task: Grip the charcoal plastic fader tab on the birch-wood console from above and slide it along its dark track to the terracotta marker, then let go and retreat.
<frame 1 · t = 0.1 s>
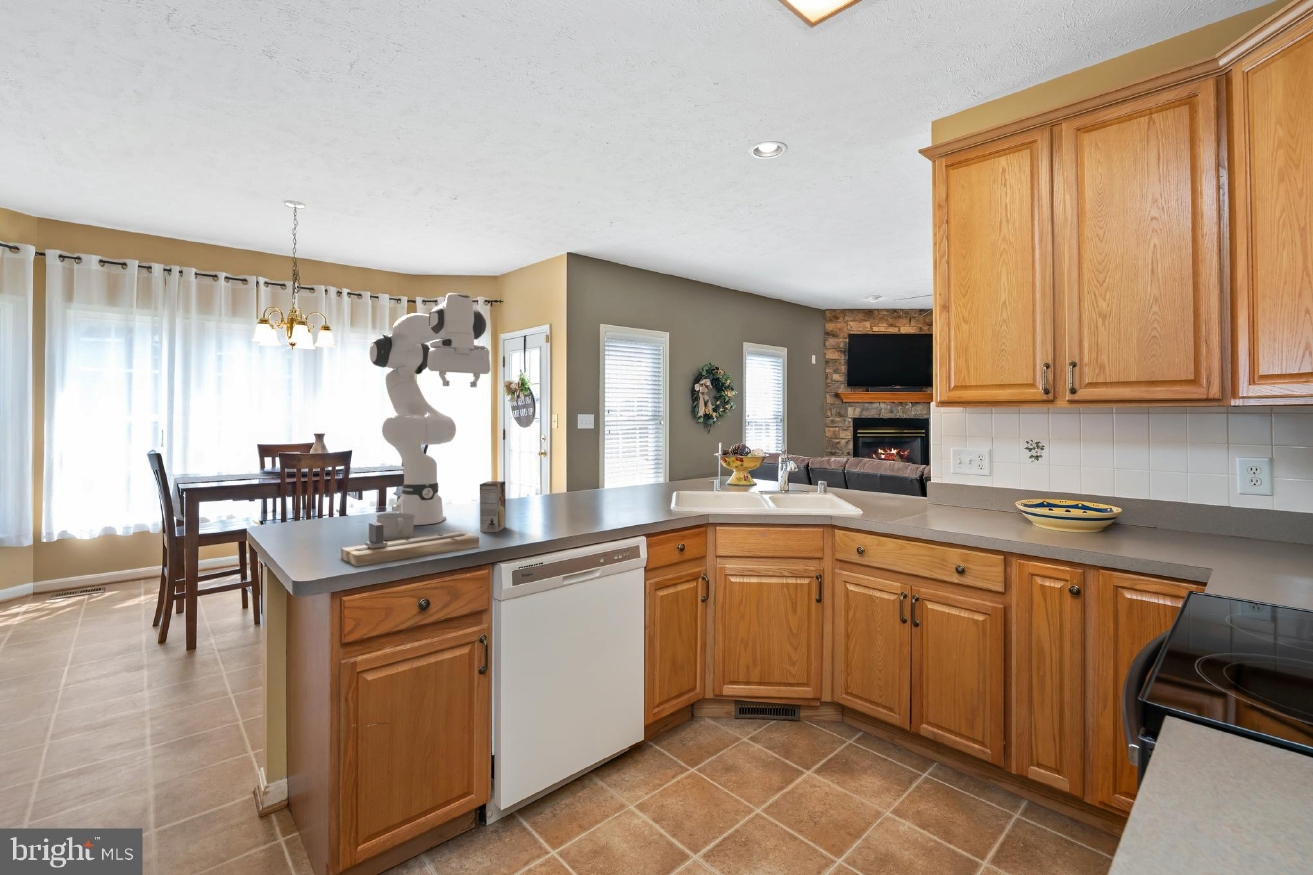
hand: (460, 386, 195), 48 cm above the countertop, tool pointing down, fingers open, 8 cm apart
fader tab: (376, 534, 163), point 6 cm above the countertop, slide at -10.0 cm
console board: (413, 552, 170), on the countertop
coffee box: (493, 530, 205), on the countertop
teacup: (396, 541, 186), on the countertop
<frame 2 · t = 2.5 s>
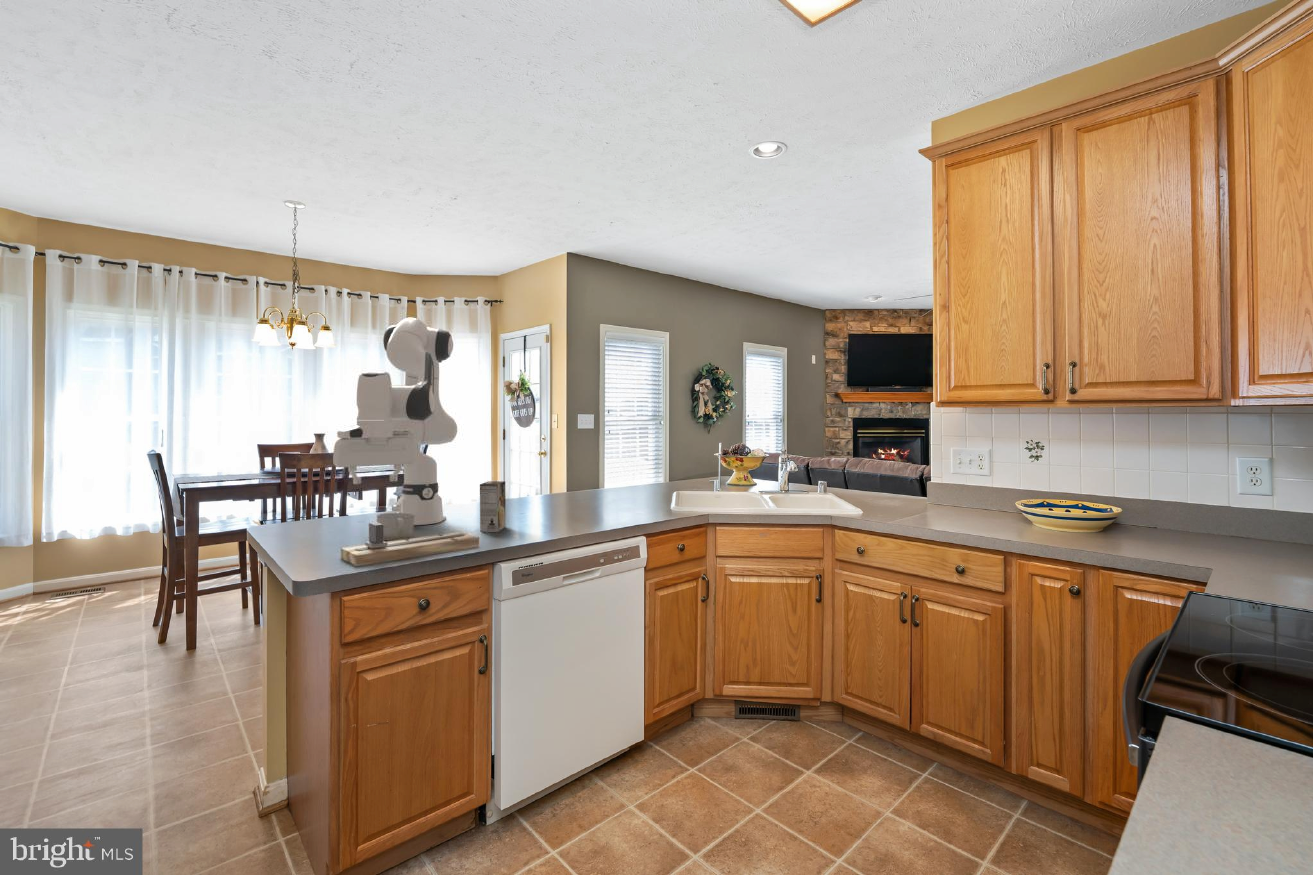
hand: (375, 482, 162), 20 cm above the countertop, tool pointing down, fingers open, 8 cm apart
nothing on the countertop moved.
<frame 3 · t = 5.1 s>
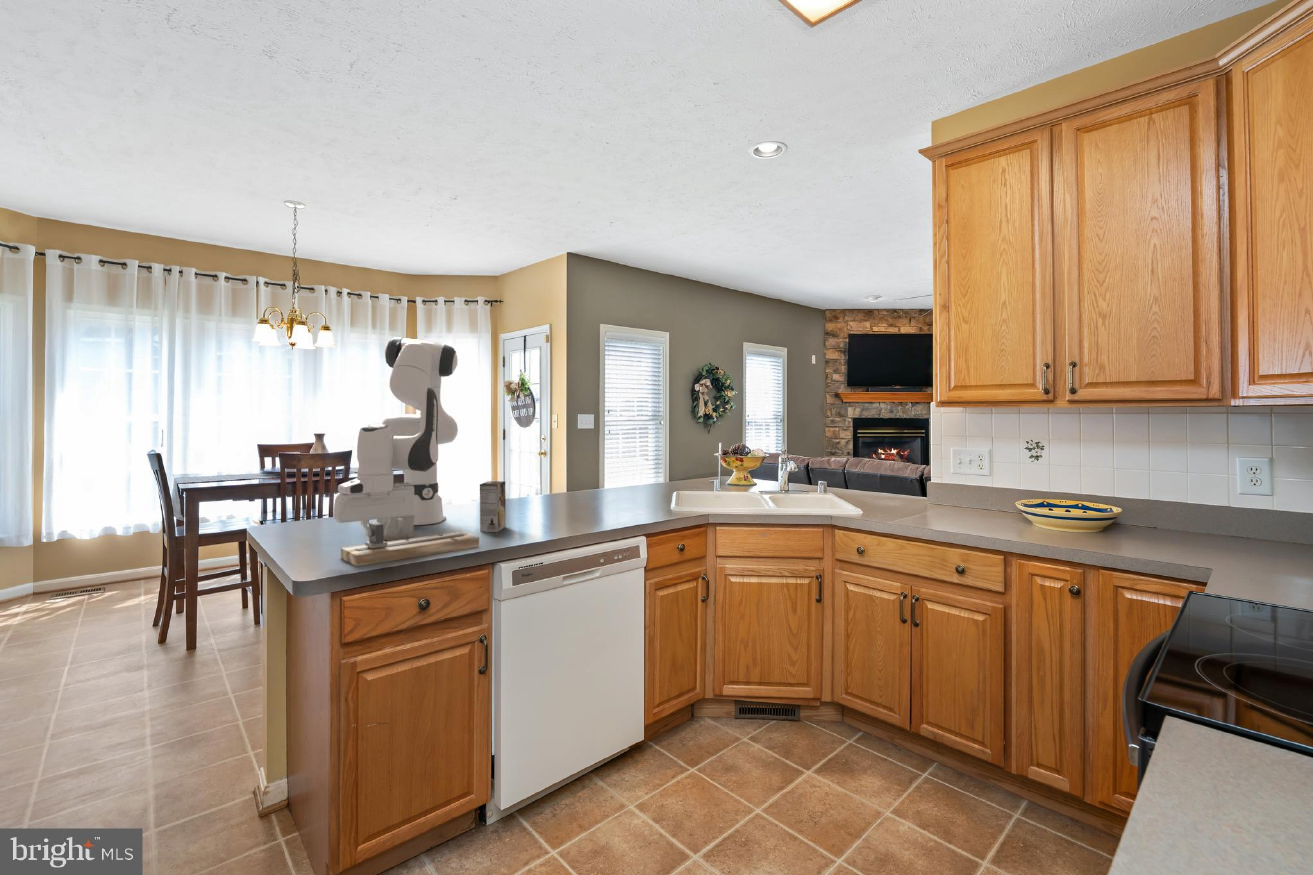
hand: (376, 535, 163), 6 cm above the countertop, tool pointing down, fingers closed on fader tab, 2 cm apart
fader tab: (376, 534, 163), point 6 cm above the countertop, slide at -10.0 cm, touching gripper
everything else where it was.
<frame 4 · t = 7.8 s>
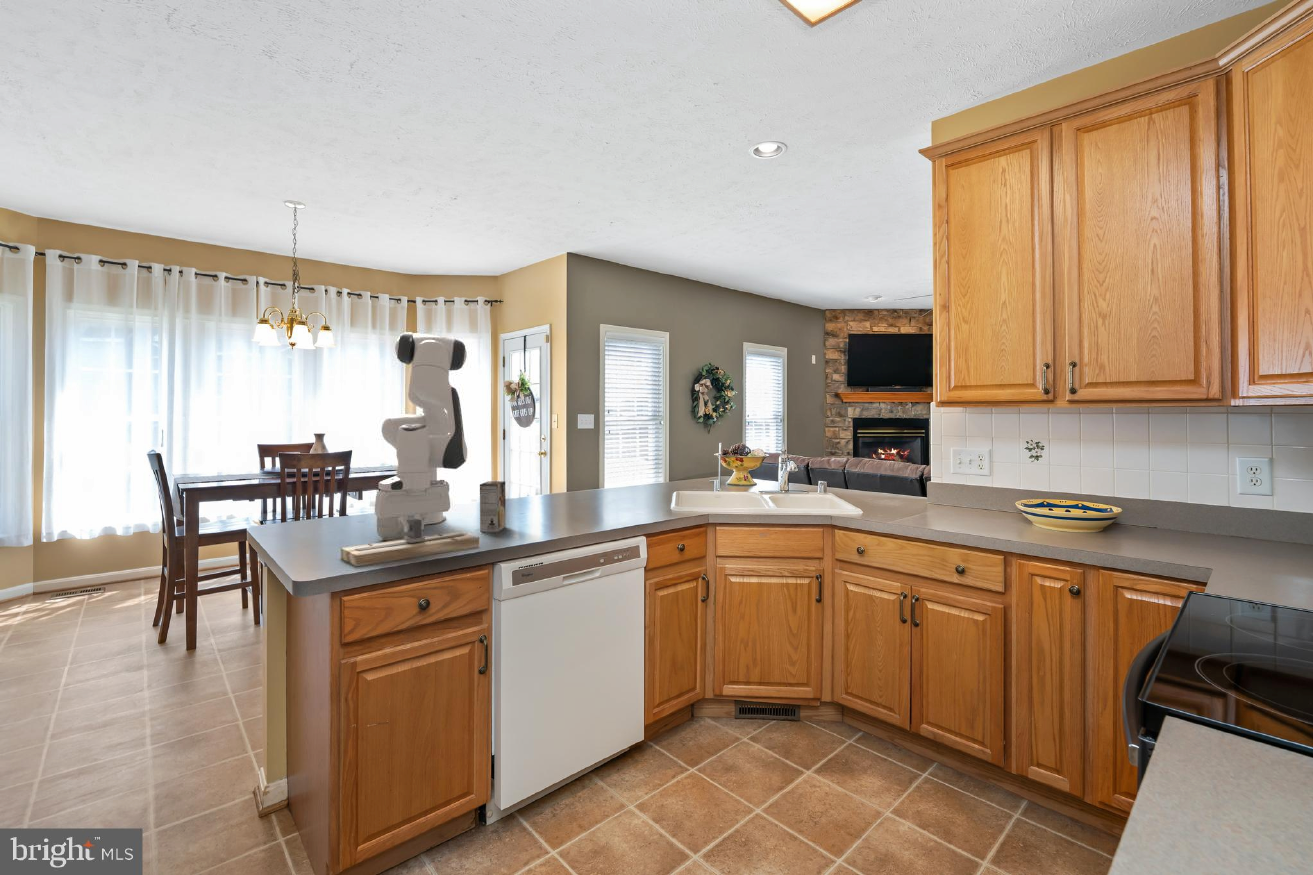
hand: (414, 530, 170), 6 cm above the countertop, tool pointing down, fingers closed on fader tab, 2 cm apart
fader tab: (414, 529, 170), point 6 cm above the countertop, slide at 0.3 cm, touching gripper
everything else where it was.
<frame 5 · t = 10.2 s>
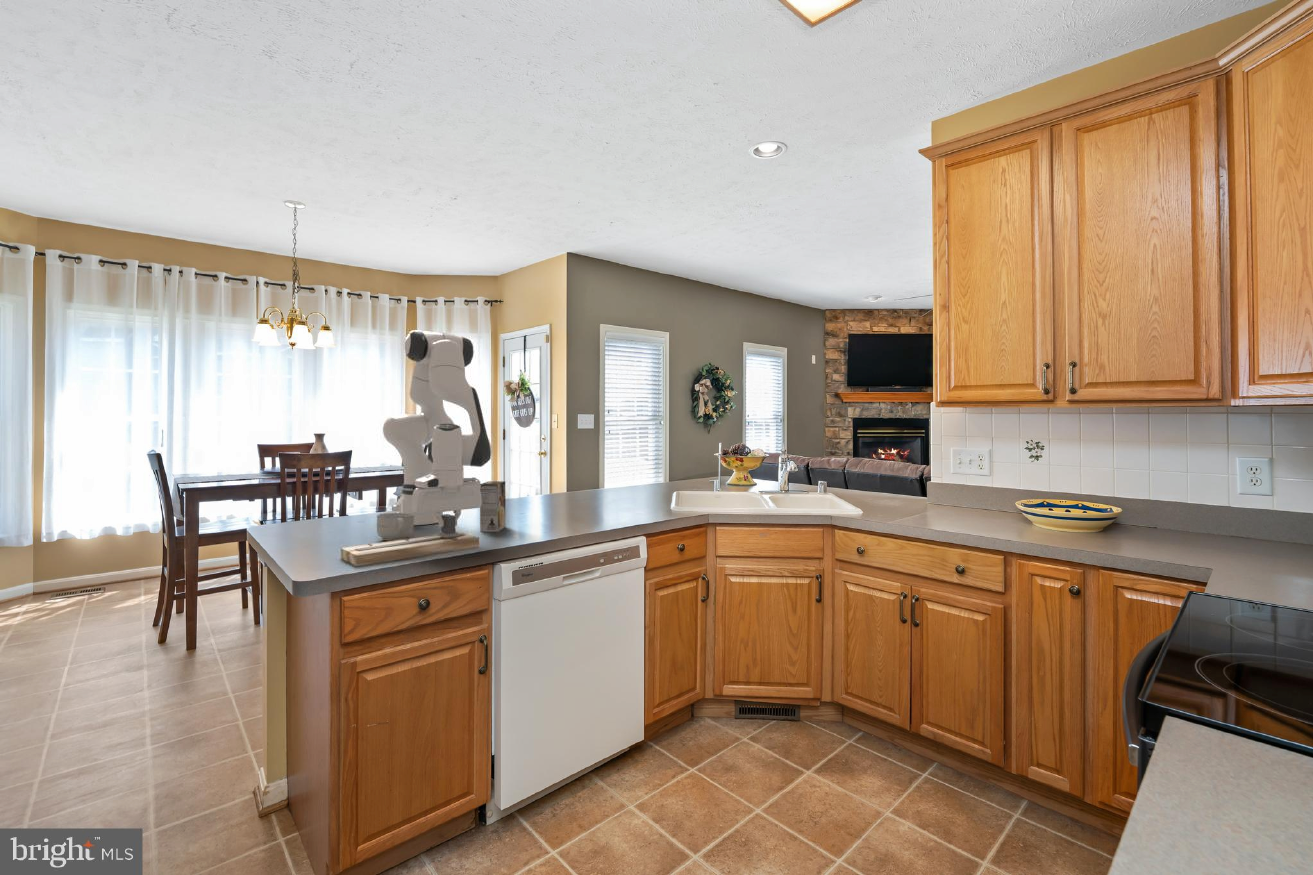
hand: (448, 526, 177), 6 cm above the countertop, tool pointing down, fingers closed on fader tab, 2 cm apart
fader tab: (448, 525, 177), point 6 cm above the countertop, slide at 10.4 cm, touching gripper
everything else where it was.
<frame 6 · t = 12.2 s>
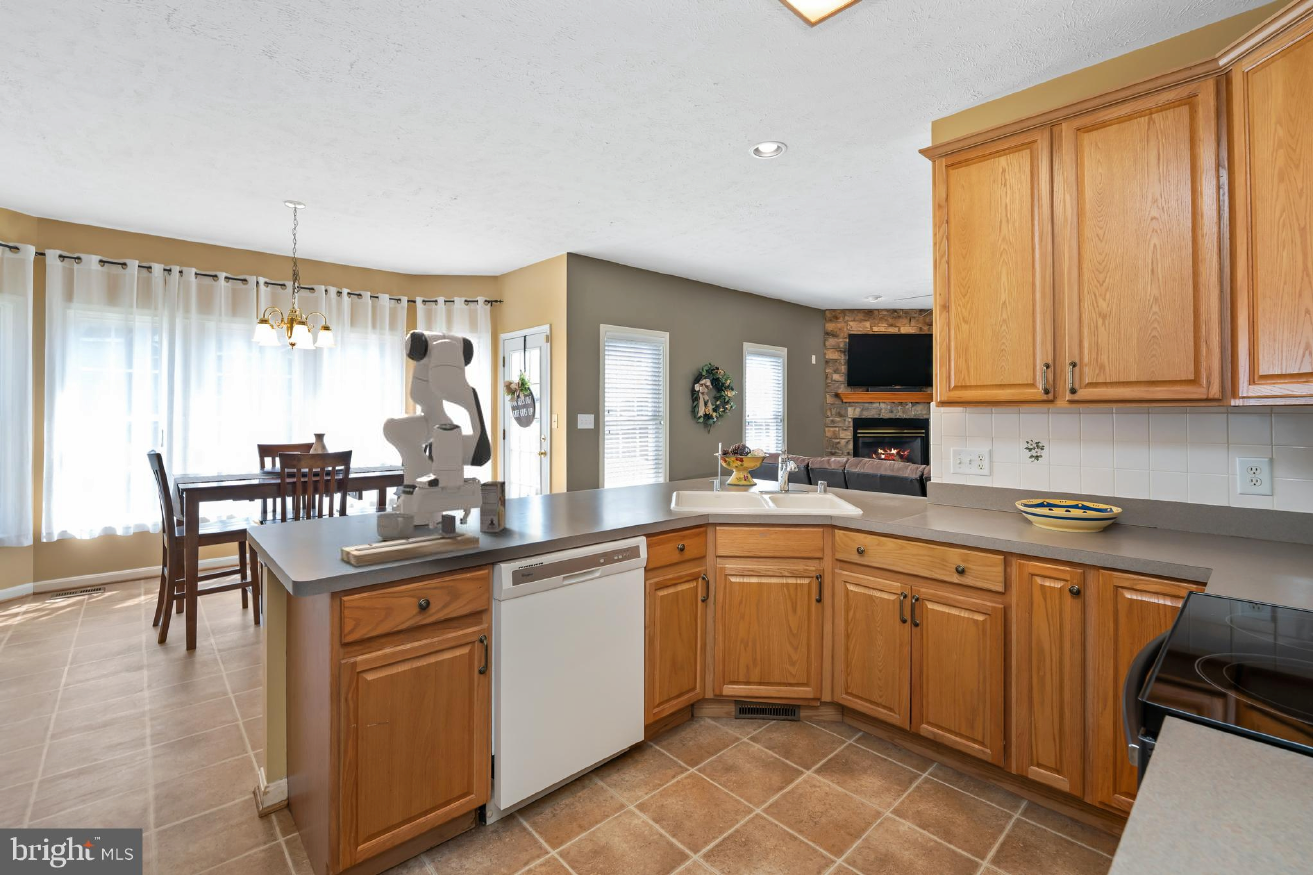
hand: (448, 526, 177), 6 cm above the countertop, tool pointing down, fingers open, 8 cm apart
fader tab: (448, 525, 177), point 6 cm above the countertop, slide at 10.5 cm
everything else where it was.
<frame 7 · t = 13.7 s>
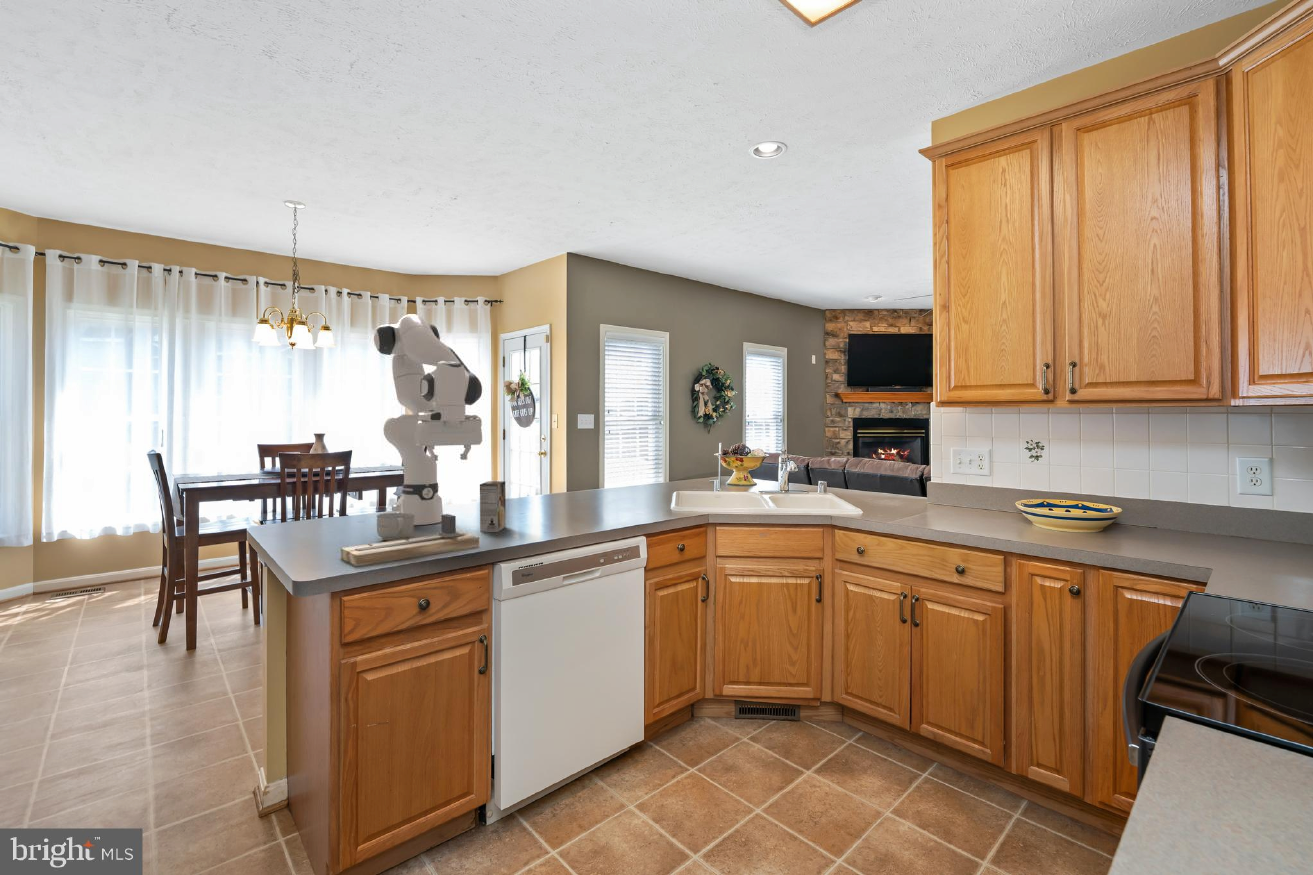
hand: (449, 460, 184), 25 cm above the countertop, tool pointing down, fingers open, 8 cm apart
nothing on the countertop moved.
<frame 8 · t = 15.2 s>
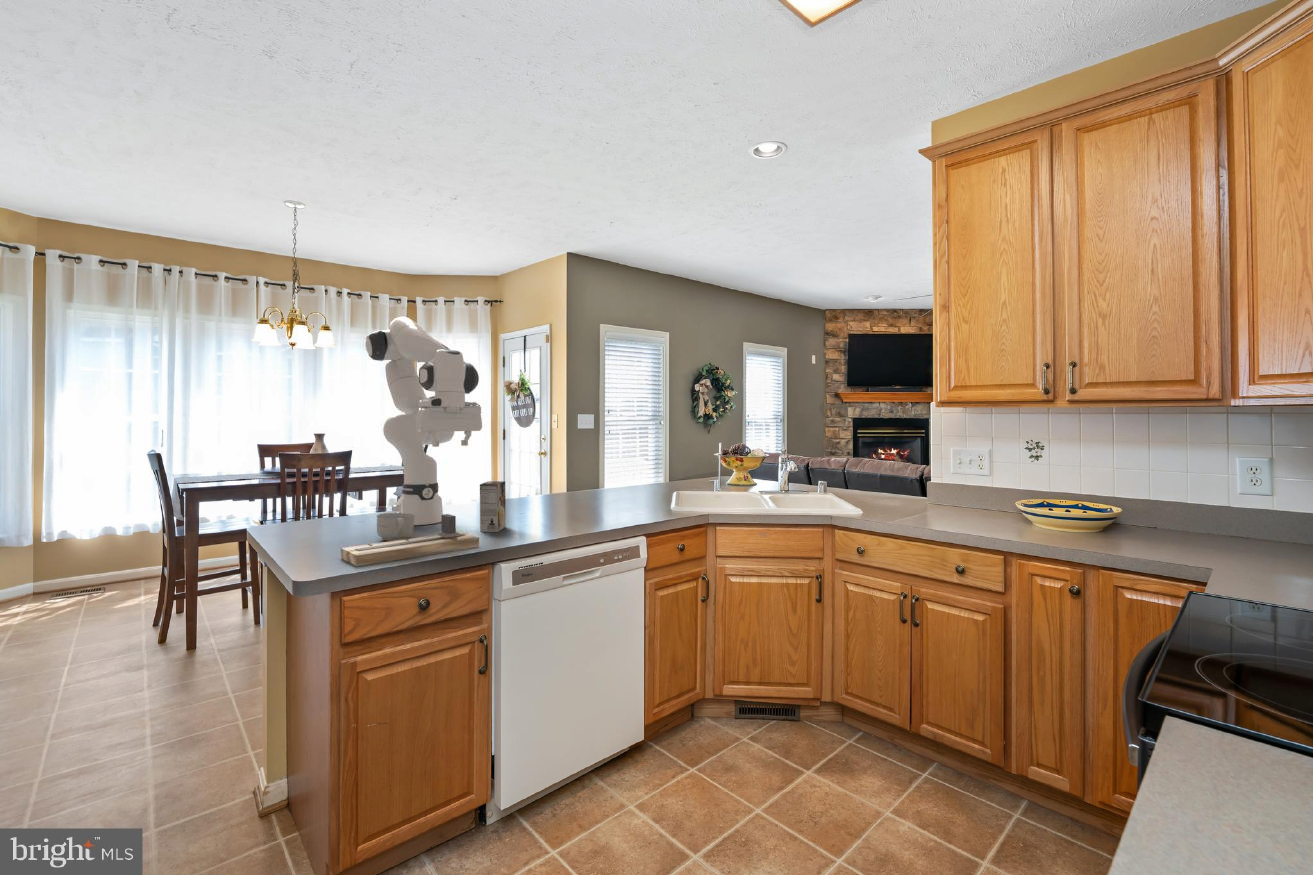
hand: (450, 446, 187), 29 cm above the countertop, tool pointing down, fingers open, 8 cm apart
nothing on the countertop moved.
at the end: fader tab slide at 10.5 cm; the gripper is holding nothing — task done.
